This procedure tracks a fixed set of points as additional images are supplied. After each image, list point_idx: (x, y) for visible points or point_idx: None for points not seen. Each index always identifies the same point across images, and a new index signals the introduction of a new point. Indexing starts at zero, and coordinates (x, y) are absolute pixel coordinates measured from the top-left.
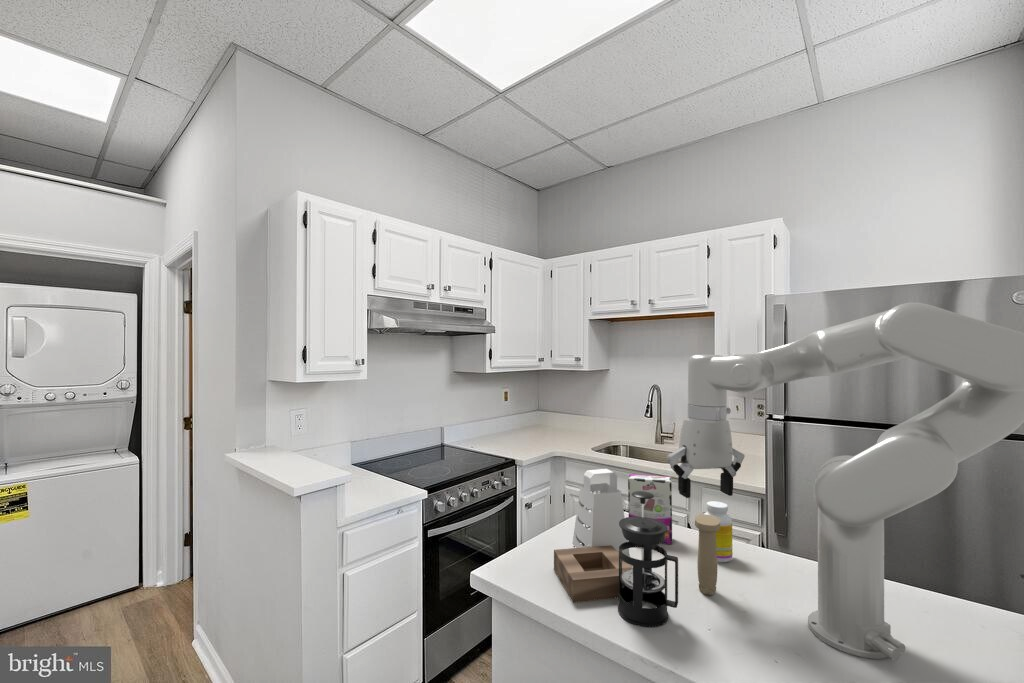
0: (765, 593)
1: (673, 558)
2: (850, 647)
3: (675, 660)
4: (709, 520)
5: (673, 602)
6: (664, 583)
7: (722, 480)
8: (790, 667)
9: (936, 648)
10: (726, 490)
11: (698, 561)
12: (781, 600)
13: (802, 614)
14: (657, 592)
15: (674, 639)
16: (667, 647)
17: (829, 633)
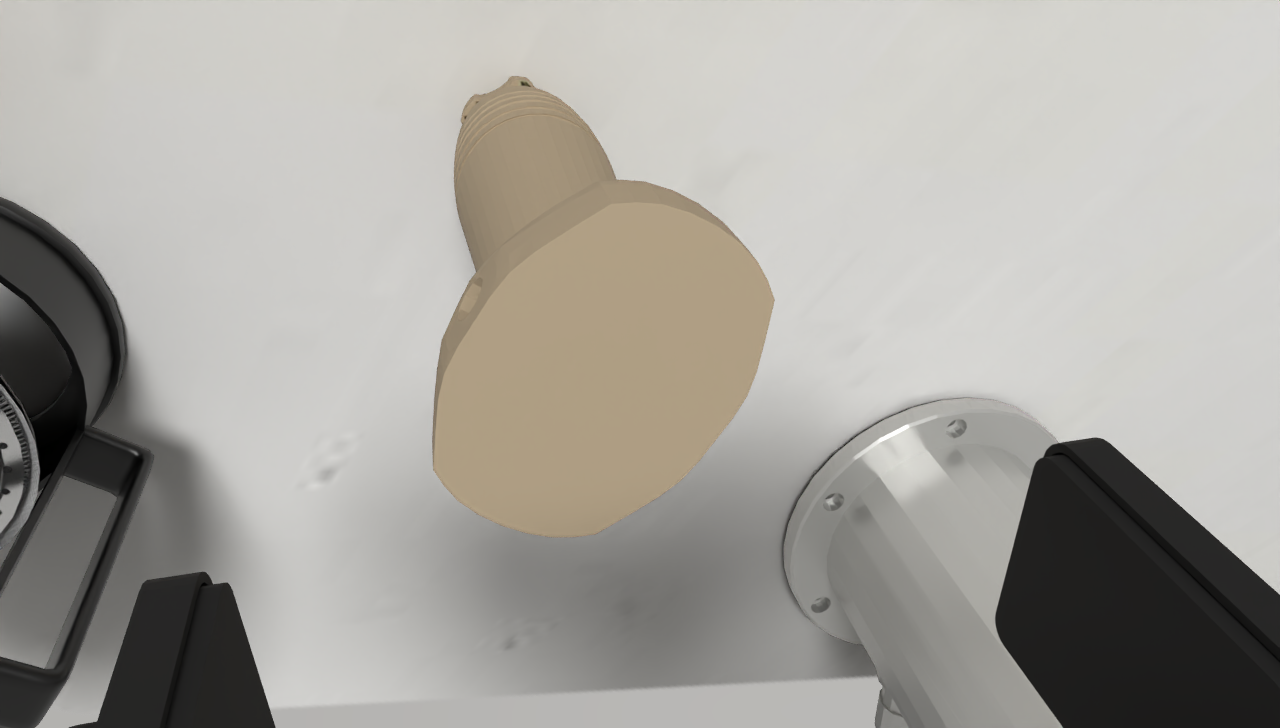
0: (864, 183)
1: (9, 714)
2: (826, 628)
3: None
4: (617, 402)
5: (119, 462)
6: (31, 482)
7: (1171, 650)
8: (541, 668)
9: None
10: (1038, 627)
11: (458, 199)
12: (888, 259)
13: (878, 379)
14: (47, 303)
15: None
16: (42, 589)
17: (827, 565)
